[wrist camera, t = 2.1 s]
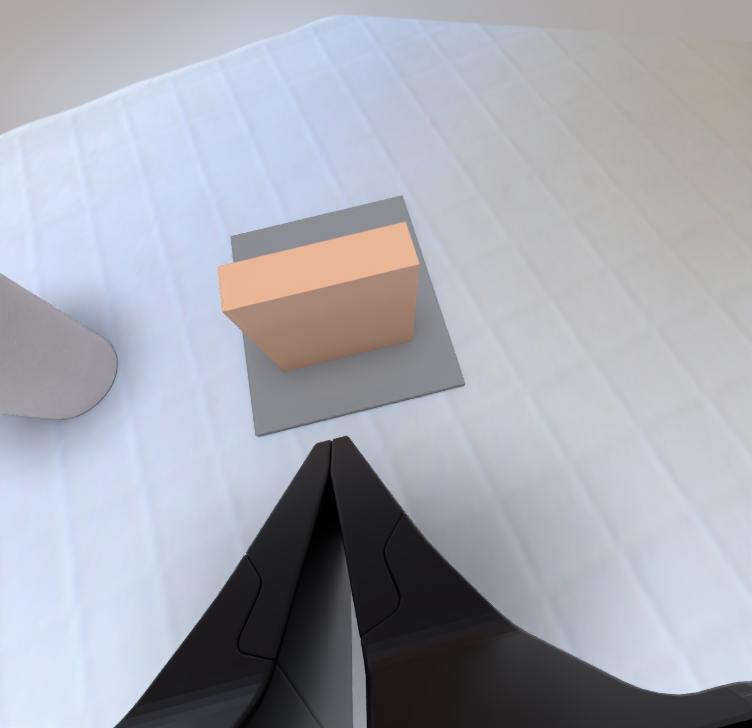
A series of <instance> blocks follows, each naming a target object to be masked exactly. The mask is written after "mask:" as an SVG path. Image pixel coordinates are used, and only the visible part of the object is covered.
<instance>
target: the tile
mask: <svg viewBox="0 0 752 728" xmlns="http://www.w3.org/2000/svg"><path fill="white" fill-rule="evenodd" d="M419 265H420V264H419V261H418V258H417V255H416V252H415V248H414V245H413V242H412V239H411V236H410V233H409V230H408V227H407V224H406V222H402V223H398V224H394V225H390V226H385V227H381V228H377V229H373V230H369V231H364V232H360V233H356V234H352V235H348V236H344V237H339V238H335V239H331V240H327V241H323V242H319V243H314V244H310V245H306V246H302V247H298V248H293V249H289V250H285V251H281V252H277V253H273V254H268V255H264V256H260V257H256V258H252V259H248V260H243V261H239V262H235V263H231V264H227V265H223V266H218V276H219V285H220V294H221V303H222V312H223V313H224V314H225V315H226V316H227V317H228V318H229V319H230V320H231V321H232V322H233V323H234V324H235V325H237V326H238V327H239V328H240V329H241V330H242V331H243V332H244V333H245V334H246V335H247V336H248V337H249V338H250V339H251V340H252V341H253V342H254V343H255V344H256V345H257V346H258V347H259V348H260V349H261V350H262V351H263V352H264V353H265V354H266V355H267V356H268V357H269V358H270V359H271V360H272V361H273V362H274V363H276V364H277V365H278V366H279V367H280V368H281V369H282V370H283V371H284V372H286V371H290V370H294V369H298V368H303V367H307V366H311V365H315V364H319V363H323V362H327V361H331V360H335V359H339V358H343V357H347V356H351V355H355V354H360V353H364V352H368V351H372V350H376V349H380V348H384V347H388V346H392V345H396V344H400V343H404V342H408V341H412V340H413V329H414V319H415V308H416V297H417V287H418V276H419Z"/></svg>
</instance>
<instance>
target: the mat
mask: <svg viewBox="0 0 752 728" xmlns="http://www.w3.org/2000/svg"><path fill="white" fill-rule="evenodd" d="M402 222H406V224H407V227H408V230H409V233H410V236H411V239H412V242H413V245H414V248H415V252H416V255H417V258H418V261H419V264H420V265H419V276H418V287H417V297H416V308H415V319H414V329H413V340H412V341H408V342H404V343H400V344H396V345H392V346H388V347H384V348H380V349H376V350H372V351H368V352H364V353H360V354H355V355H351V356H347V357H343V358H339V359H335V360H331V361H327V362H323V363H319V364H315V365H311V366H307V367H303V368H298V369H294V370H290V371H286V372H284V371H283V370H282V369H281V368H280V367H279V366H278V365H277V364H276V363H274V362H273V361H272V360H271V359H270V358H269V357H268V356H267V355H266V354H265V353H264V352H263V351H262V350H261V349H260V348H259V347H258V346H257V345H256V344H255V343H254V342H253V341H252V340H251V339H250V338H249V337H248V336H247V335H246V334H245V333H244V332H243V331H242V332H243V340H244V348H245V356H246V364H247V372H248V380H249V388H250V396H251V404H252V412H253V420H254V428H255V436H258V437H259V436H263V435H267V434H271V433H275V432H279V431H283V430H287V429H291V428H295V427H299V426H303V425H307V424H311V423H315V422H319V421H323V420H327V419H331V418H335V417H339V416H343V415H347V414H351V413H355V412H359V411H363V410H367V409H371V408H375V407H379V406H383V405H387V404H391V403H395V402H399V401H403V400H407V399H411V398H415V397H419V396H423V395H428V394H432V393H436V392H440V391H444V390H448V389H452V388H456V387H460V386H464V385H465V381H464V378H463V375H462V372H461V369H460V366H459V363H458V360H457V357H456V354H455V351H454V348H453V345H452V342H451V339H450V336H449V333H448V330H447V327H446V324H445V321H444V318H443V315H442V312H441V309H440V306H439V303H438V300H437V297H436V294H435V291H434V288H433V285H432V282H431V279H430V276H429V273H428V270H427V267H426V264H425V261H424V258H423V255H422V252H421V249H420V246H419V243H418V240H417V237H416V234H415V231H414V228H413V225H412V222H411V219H410V217H409V214H408V211H407V208H406V205H405V202H404V199H403V196H398V197H394V198H390V199H386V200H381V201H377V202H373V203H369V204H365V205H360V206H356V207H352V208H348V209H344V210H339V211H335V212H331V213H327V214H323V215H318V216H314V217H310V218H306V219H302V220H297V221H293V222H289V223H285V224H281V225H276V226H272V227H268V228H264V229H260V230H255V231H251V232H247V233H243V234H239V235H234V236H230V237H231V244H232V252H233V260H234V263H235V262H239V261H243V260H248V259H252V258H256V257H260V256H264V255H268V254H273V253H277V252H281V251H285V250H289V249H293V248H298V247H302V246H306V245H310V244H314V243H319V242H323V241H327V240H331V239H335V238H339V237H344V236H348V235H352V234H356V233H360V232H364V231H369V230H373V229H377V228H381V227H385V226H390V225H394V224H398V223H402Z"/></svg>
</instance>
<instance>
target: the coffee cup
mask: <svg viewBox="0 0 752 728" xmlns="http://www.w3.org/2000/svg"><path fill="white" fill-rule="evenodd" d="M116 370H117V358H116V354H115V351H114V349H113V347H112V345H111V344H110V343H109V342H108V341H107V340H106V339H105V338H103V337H101V336H100V335H98V334H97V333H95V332H94V331H92V330H90V329H89V328H87V327H86V326H84V325H82V324H81V323H79V322H77V321H76V320H74V319H73V318H71V317H69V316H68V315H66V314H65V313H63V312H61V311H60V310H58V309H57V308H55V307H53V306H52V305H50V304H49V303H47V302H45V301H44V300H42V299H41V298H39V297H37V296H36V295H34V294H33V293H31V292H29V291H28V290H26V289H25V288H23V287H21V286H20V285H18V284H17V283H15V282H14V281H12V280H10V279H9V278H7V277H6V276H4V275H2V274H1V273H0V414H7V415H18V416H28V417H39V418H49V419H67V418H72V417H75V416H78V415H80V414H83V413H84V412H86V411H88V410H89V409H91V408H92V407H94V406H95V405H96V404H97V403H98V402H99V401H100V400H101V399H102V398H103V397H104V396H105V395H106V393H107V392H108V390H109V389H110V387H111V385H112V383H113V381H114V378H115V375H116Z"/></svg>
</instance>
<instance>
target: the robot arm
mask: <svg viewBox="0 0 752 728" xmlns="http://www.w3.org/2000/svg"><path fill="white" fill-rule="evenodd" d="M246 554H247V555H244V556H243V558H242V559H241V561H240V562H239V564H238V566H237V567H236V569H235V570H234V572H233V573H232V575H231V576H230V578H229V579H228V581H227V582H226V584H225V585H224V587H223V588H222V590H221V591H220V593H219V594H218V596H217V597H216V598H215V600H214V601H213V602H212V604H211V605H210V606H209V608H208V609H207V611H206V612H205V613H204V615H203V616H202V617H201V619H200V620H199V621H198V623H197V624H196V626H195V627H194V628H193V629H192V631H191V632H190V633H189V635H188V636H187V637H186V639H185V640H184V641H183V643H182V644H181V645H180V647H179V648H178V649H177V651H176V652H175V653H174V654H173V656H172V657H171V658H170V660H169V661H168V662H167V664H166V665H165V666H164V668H163V669H162V670H161V672H160V673H159V674H158V676H157V677H156V678H155V679H154V681H153V682H152V683H151V685H150V686H149V687H148V689H147V690H146V691H145V693H144V694H143V695H142V696H141V698H140V699H139V700H138V701H137V703H136V704H135V705H134V706H133V708H132V709H131V710H130V711H129V712H128V713H127V714H126V715H125V717H124V718H123V719H122V720H121V721H120V722H119V723H118V724H117V725H116V726H115V727H114V728H353V700H352V636H351V591H352V596H353V602H354V607H355V613H356V618H357V624H358V630H359V635H360V638H361V646H362V652H363V658H364V666H365V674H366V711H367V728H752V681H744V682H735V683H731V684H726V685H722V686H718V687H714V688H711V689H707V690H703V691H700V692H696V693H688V694H681V695H677V694H665V693H658V692H654V691H649V690H645V689H641V688H639V687H636V686H634V685H631V684H629V683H627V682H624V681H622V680H620V679H618V678H616V677H614V676H612V675H610V674H608V673H606V672H604V671H602V670H600V669H599V668H597V667H595V666H593V665H591V664H589V663H587V662H585V661H583V660H581V659H579V658H577V657H575V656H573V655H571V654H569V653H567V652H565V651H563V650H561V649H559V648H557V647H555V646H553V645H551V644H549V643H547V642H545V641H543V640H542V639H540V638H538V637H536V636H534V635H532V634H530V633H528V632H526V631H524V630H523V629H521V628H519V627H518V626H516V625H515V624H514V623H512V622H511V621H510V620H509V619H507V618H506V617H505V616H504V615H503V614H501V613H500V612H499V611H498V610H497V609H496V608H495V607H494V606H493V605H492V604H490V603H489V602H488V601H487V600H486V599H485V598H484V597H483V596H482V595H481V594H480V593H479V592H478V591H477V590H476V589H475V588H474V587H473V586H472V585H471V584H470V583H469V582H468V581H467V580H466V579H465V578H464V577H463V576H462V575H461V574H460V573H459V572H458V571H457V570H456V569H455V568H454V567H453V566H452V565H451V564H450V563H449V562H448V561H447V560H446V559H445V558H444V557H443V556H442V555H441V554H440V553H439V552H438V551H437V550H436V549H435V548H434V547H433V546H432V545H431V544H430V543H429V541H428V540H427V539H426V538H425V537H424V535H423V534H422V533H421V532H420V530H419V529H418V528H417V527H416V526H415V524H414V523H413V522H412V520H411V519H410V518H409V516H408V515H407V514H405V511H404V510H403V509H402V507H401V506H400V505H399V503H398V502H397V501H396V499H395V498H394V497H393V495H392V494H391V493H390V491H389V490H388V489H387V487H386V486H385V485H384V483H383V482H382V481H381V479H380V478H379V477H378V475H377V474H376V473H375V471H374V470H373V469H372V467H371V466H370V465H369V463H368V462H367V461H366V459H365V458H364V457H363V455H362V454H361V453H360V451H359V450H358V449H357V447H356V446H355V445H354V443H353V442H352V441H351V439H350V438H349V437H348V436H343V437H339V438H336V439H333V441H331V440H328V441H324V442H320V443H317V444H315V446H314V447H313V449H312V450H311V452H310V453H309V455H308V457H307V458H306V460H305V461H304V463H303V464H302V466H301V467H300V469H299V471H298V472H297V474H296V475H295V477H294V478H293V480H292V481H291V483H290V485H289V486H288V488H287V489H286V491H285V492H284V494H283V496H282V497H281V499H280V500H279V502H278V503H277V505H276V506H275V508H274V510H273V511H272V513H271V514H270V516H269V517H268V519H267V521H266V522H265V524H264V525H263V527H262V528H261V530H260V531H259V533H258V535H257V536H256V538H255V539H254V541H253V542H252V544H251V546H250V547H249V549H248V550H247V552H246Z"/></svg>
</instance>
